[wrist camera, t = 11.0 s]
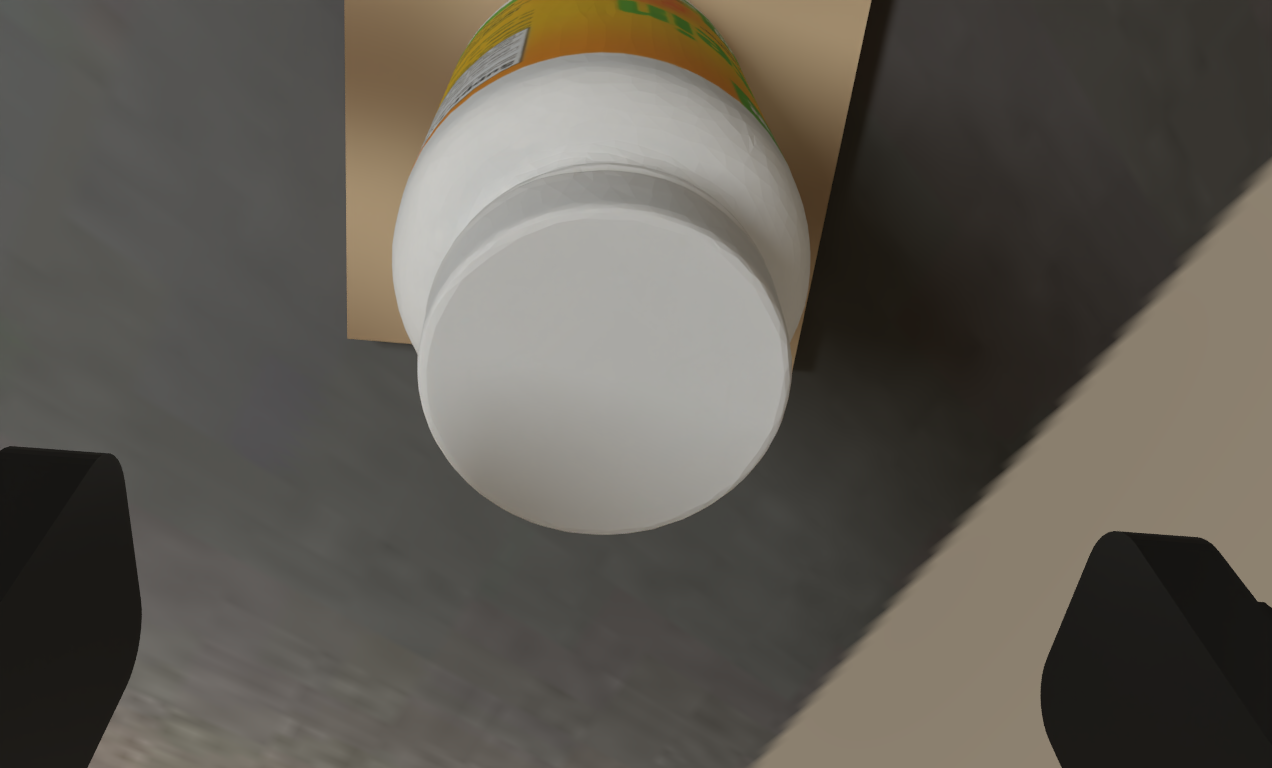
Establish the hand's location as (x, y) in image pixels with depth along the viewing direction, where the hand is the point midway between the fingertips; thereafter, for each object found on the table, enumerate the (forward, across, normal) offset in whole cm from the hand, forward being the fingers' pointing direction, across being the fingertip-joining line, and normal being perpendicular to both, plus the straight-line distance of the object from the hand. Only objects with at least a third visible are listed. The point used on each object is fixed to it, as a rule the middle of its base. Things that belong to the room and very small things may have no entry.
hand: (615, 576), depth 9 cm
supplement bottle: (+13, 0, 0) cm, 13 cm away
